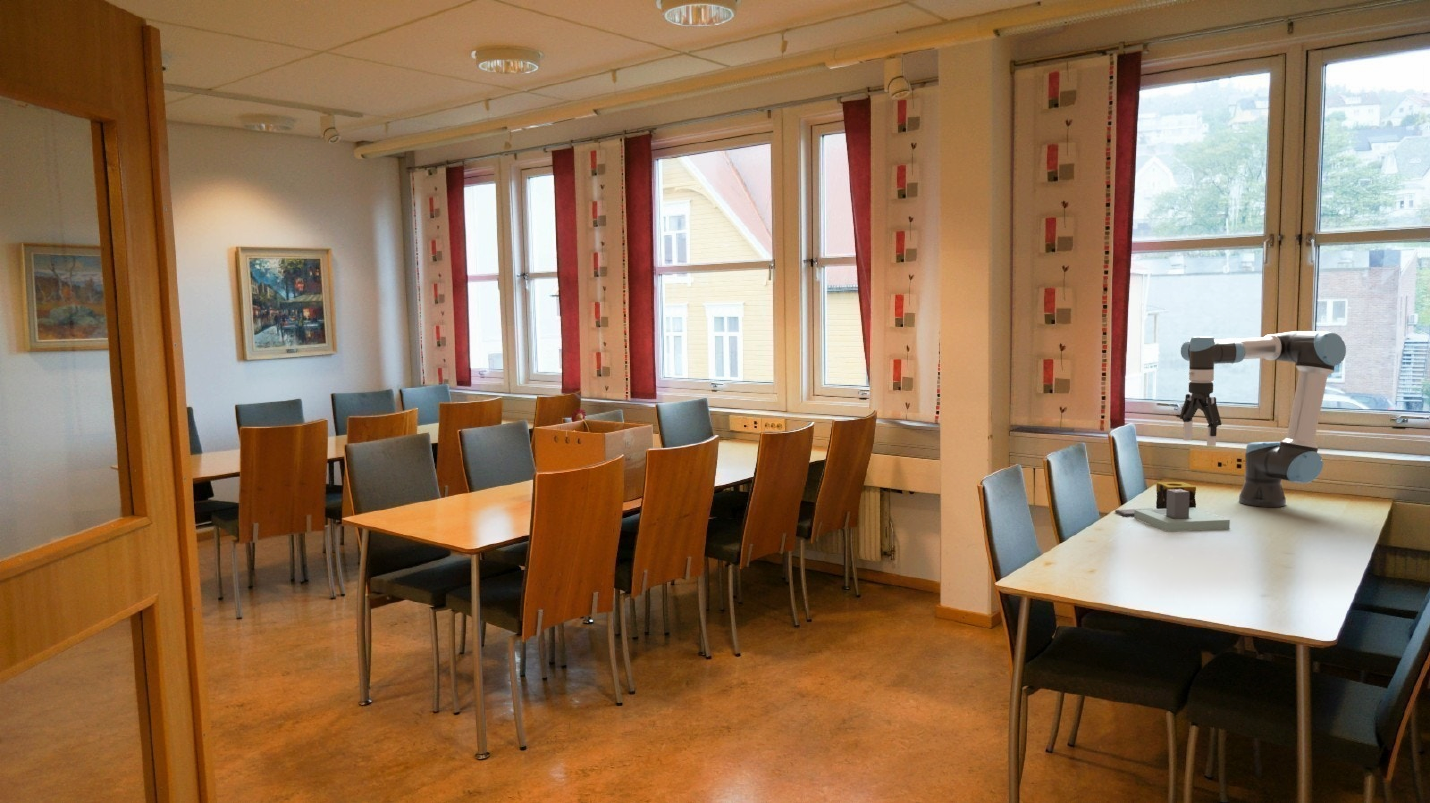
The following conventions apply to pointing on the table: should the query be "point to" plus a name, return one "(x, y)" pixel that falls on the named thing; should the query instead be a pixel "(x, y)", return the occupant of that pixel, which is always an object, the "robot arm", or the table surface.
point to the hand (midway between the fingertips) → (1199, 443)
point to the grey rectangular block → (1177, 504)
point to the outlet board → (1182, 520)
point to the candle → (1165, 486)
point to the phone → (1127, 512)
